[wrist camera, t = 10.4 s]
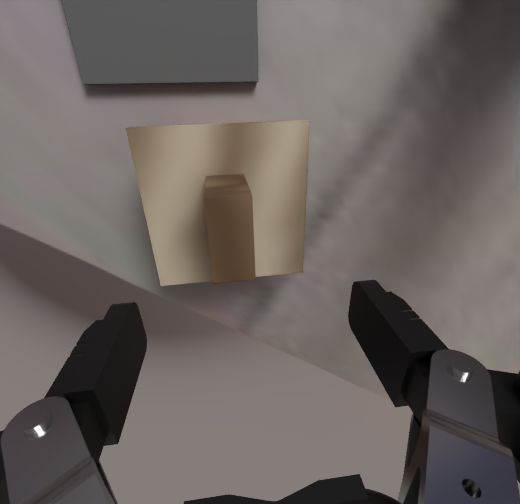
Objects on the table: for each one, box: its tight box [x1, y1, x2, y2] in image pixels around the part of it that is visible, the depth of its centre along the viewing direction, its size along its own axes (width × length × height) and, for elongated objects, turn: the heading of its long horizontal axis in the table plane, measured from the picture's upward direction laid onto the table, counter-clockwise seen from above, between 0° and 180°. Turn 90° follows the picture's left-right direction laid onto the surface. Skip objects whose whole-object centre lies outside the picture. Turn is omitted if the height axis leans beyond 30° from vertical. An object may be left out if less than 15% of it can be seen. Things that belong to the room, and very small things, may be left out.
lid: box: [126, 120, 310, 286], centre depth 18 cm, size 11×11×6 cm
